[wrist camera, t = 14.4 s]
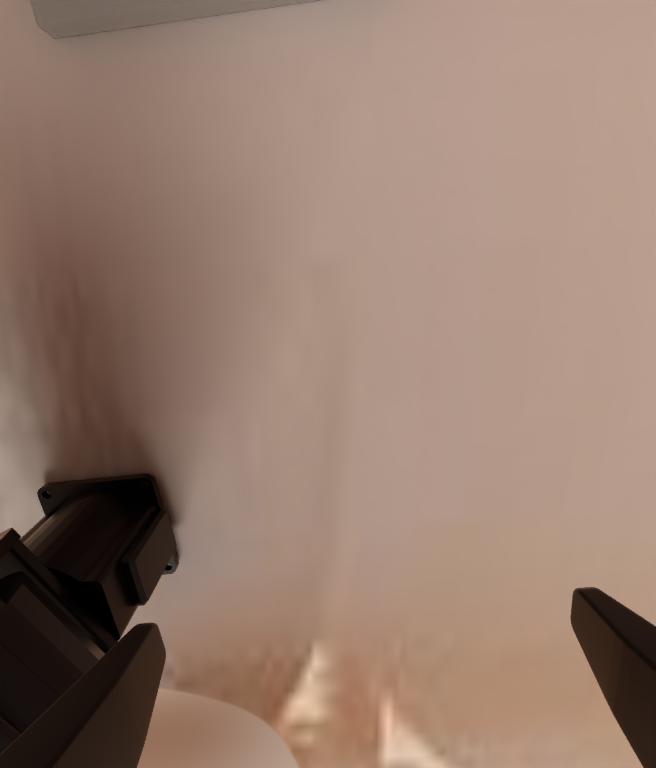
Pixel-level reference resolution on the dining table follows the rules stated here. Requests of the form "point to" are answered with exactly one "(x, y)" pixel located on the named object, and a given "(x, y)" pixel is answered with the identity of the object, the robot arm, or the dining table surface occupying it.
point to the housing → (132, 13)
